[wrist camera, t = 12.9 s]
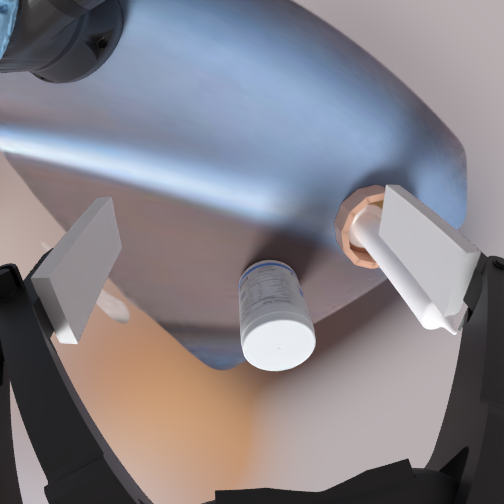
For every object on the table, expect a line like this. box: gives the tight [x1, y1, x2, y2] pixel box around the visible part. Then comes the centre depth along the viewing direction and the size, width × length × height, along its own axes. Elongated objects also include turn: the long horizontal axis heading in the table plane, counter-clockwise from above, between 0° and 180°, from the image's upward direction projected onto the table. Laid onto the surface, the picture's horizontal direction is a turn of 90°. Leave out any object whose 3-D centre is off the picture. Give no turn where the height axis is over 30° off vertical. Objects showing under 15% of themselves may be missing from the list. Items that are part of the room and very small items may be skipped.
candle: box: [348, 203, 457, 335], centre depth 36 cm, size 7×7×25 cm
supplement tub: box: [239, 260, 316, 371], centre depth 45 cm, size 10×10×15 cm
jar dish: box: [334, 185, 386, 269], centre depth 46 cm, size 12×12×4 cm
